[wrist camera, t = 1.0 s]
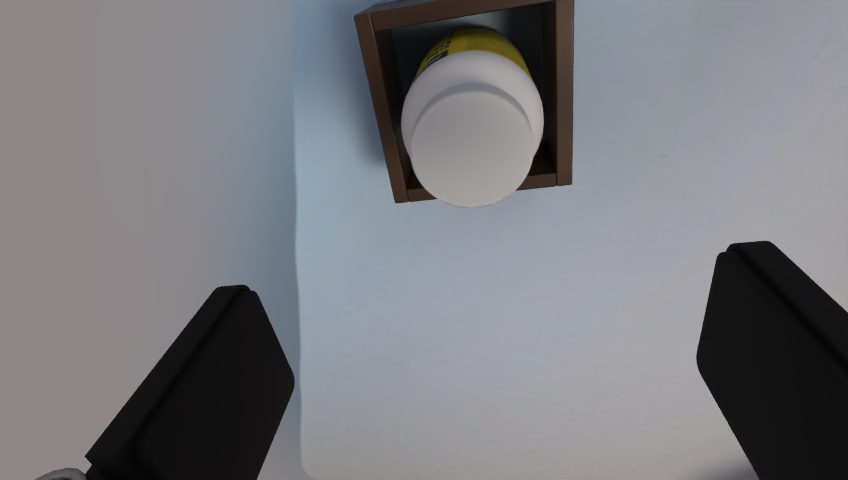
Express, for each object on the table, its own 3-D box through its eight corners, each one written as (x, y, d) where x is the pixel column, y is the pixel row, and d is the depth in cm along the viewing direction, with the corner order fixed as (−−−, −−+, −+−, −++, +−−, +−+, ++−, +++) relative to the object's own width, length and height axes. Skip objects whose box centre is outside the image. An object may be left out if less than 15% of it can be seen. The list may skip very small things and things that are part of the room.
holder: (373, 5, 24) (352, 15, 20) (555, -29, 23) (574, -24, 18) (405, 168, 29) (394, 204, 25) (556, 150, 28) (572, 185, 23)
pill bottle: (438, 6, 24) (418, 39, 15) (544, 46, 25) (589, 102, 15) (405, 114, 27) (371, 197, 18) (499, 147, 28) (513, 244, 19)
